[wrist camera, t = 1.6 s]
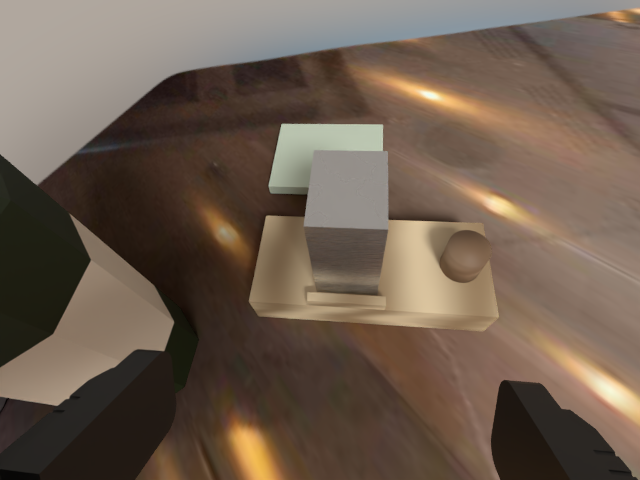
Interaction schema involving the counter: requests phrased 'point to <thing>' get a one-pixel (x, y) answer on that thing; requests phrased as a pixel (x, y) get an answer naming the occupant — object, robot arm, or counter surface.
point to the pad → (305, 138)
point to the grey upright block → (347, 220)
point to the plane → (384, 278)
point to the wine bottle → (72, 301)
